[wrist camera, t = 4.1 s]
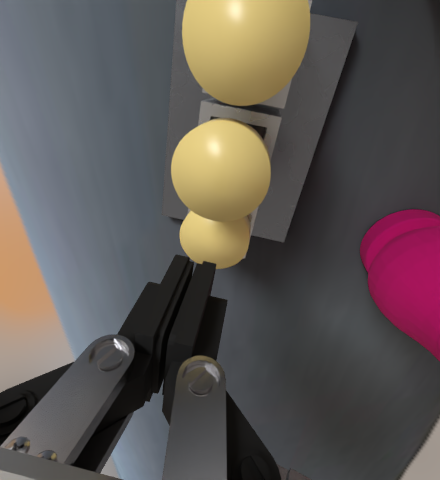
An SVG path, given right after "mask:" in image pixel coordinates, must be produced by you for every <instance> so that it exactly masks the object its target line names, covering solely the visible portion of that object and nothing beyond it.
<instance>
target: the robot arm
mask: <svg viewBox="0 0 440 480" xmlns="http://www.w3.org/2000/svg"><path fill="white" fill-rule="evenodd" d="M189 260H190V259H189V257H185V256H180V255H175V257H174V259H173V261H172V263H171V265H170V266H169V268H168V270H167V272H166V274H165V276H164V278H163V280H162V282H161V284H157V283H153V282H148V283H147V285H146V286H145V288H144V290H143V291H142V293H141V295H140V297H139V298H138V300H137V302H136V303H135V305H134V307H133V308H132V310H131V312H130V314H129V315H128V317H127V319H126V320H125V322H124V324H123V325H122V327H121V329H120V331H119V332H118V334H117V335H106V336H103V337H100V338H98V339H97V340H95V341H94V342H92V343H91V344H90V345H89V346H88V347H87V348H86V349H85V351H84V352H83V353H82V354H81V355H80V356H79V357H78V359H77V360H76V361H75V362H72V363H70V364H67V365H65V366H63V367H60V368H58V369H55V370H53V371H50V372H48V373H46V374H43V375H41V376H38V377H36V378H34V379H31V380H29V381H26V382H24V383H21V384H19V385H17V386H14V387H12V388H9V389H7V390H5V391H3V392H1V393H0V480H122V479H118V478H115V477H111V476H107V475H103V474H100V473H101V471H102V469H103V467H104V466H105V464H106V462H107V460H108V458H109V457H110V455H111V453H112V451H113V450H114V448H115V446H116V444H117V442H118V441H119V439H120V437H121V435H122V434H123V432H124V430H125V428H126V426H127V425H128V423H129V421H130V419H131V417H132V415H133V412H134V411H136V410H137V409H139V408H141V407H143V406H144V403H145V401H148V402H150V399H151V396H152V394H153V393H157V394H158V393H159V390H160V387H161V385H162V382H163V379H164V383H163V393H162V395H164V398H163V408H162V412H163V414H164V416H165V418H166V420H167V422H168V424H169V426H170V428H169V435H168V442H167V449H166V456H165V463H164V469H163V476H162V480H311V479H309V478H307V477H305V476H304V475H302V474H300V473H298V472H296V471H295V470H293V469H291V468H290V470H289V471H288V470H286V469H285V468H283V467H281V466H279V465H277V464H276V462H275V460H274V458H273V457H272V455H271V454H270V453H269V451H268V450H267V448H266V447H265V445H264V444H263V443H262V441H261V440H260V438H259V437H258V435H257V434H256V432H255V431H254V430H253V428H252V427H251V425H250V424H249V422H248V421H247V420H246V418H245V417H244V415H243V414H242V412H241V411H240V410H239V408H238V407H237V405H236V404H235V402H234V401H233V399H232V398H231V397H230V395H229V394H228V392H227V391H226V378H225V373H224V371H223V369H222V367H221V365H220V364H219V363H218V362H217V361H216V359H217V354H218V349H219V343H220V338H221V333H222V327H223V322H224V317H225V311H226V306H227V300H225V299H221V298H217V297H212V296H210V295H211V290H212V285H213V279H214V274H215V269H216V264H215V263H211V262H207V261H203V263H202V264H199V263H197V265H196V268H195V271H194V273H193V276H192V272H193V265H194V262H191V261H189Z"/></svg>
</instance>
